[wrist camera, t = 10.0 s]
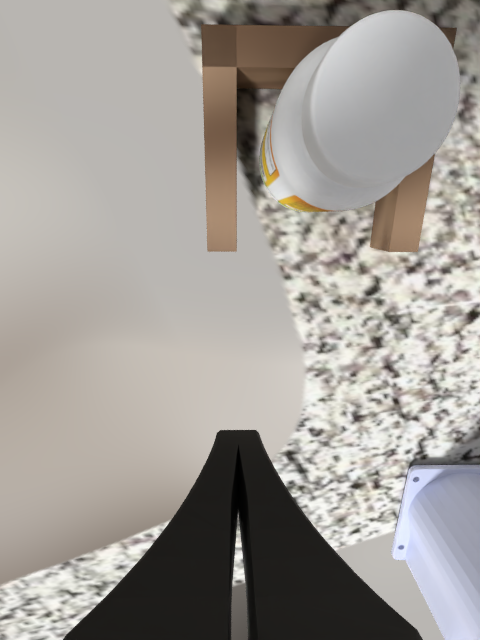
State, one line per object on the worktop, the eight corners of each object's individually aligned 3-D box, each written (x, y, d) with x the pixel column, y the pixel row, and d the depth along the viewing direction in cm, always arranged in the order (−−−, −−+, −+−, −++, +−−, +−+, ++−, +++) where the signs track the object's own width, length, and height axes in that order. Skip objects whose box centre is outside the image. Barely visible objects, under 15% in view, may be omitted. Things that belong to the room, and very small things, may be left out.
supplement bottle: (375, 166, 18) (527, 114, 8) (298, 232, 19) (359, 249, 10) (317, 78, 16) (424, -96, 7) (238, 155, 17) (241, 87, 8)
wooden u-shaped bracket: (394, 247, 19) (417, 251, 17) (210, 246, 19) (207, 251, 17) (424, 55, 16) (456, 28, 14) (206, 52, 16) (201, 24, 14)
